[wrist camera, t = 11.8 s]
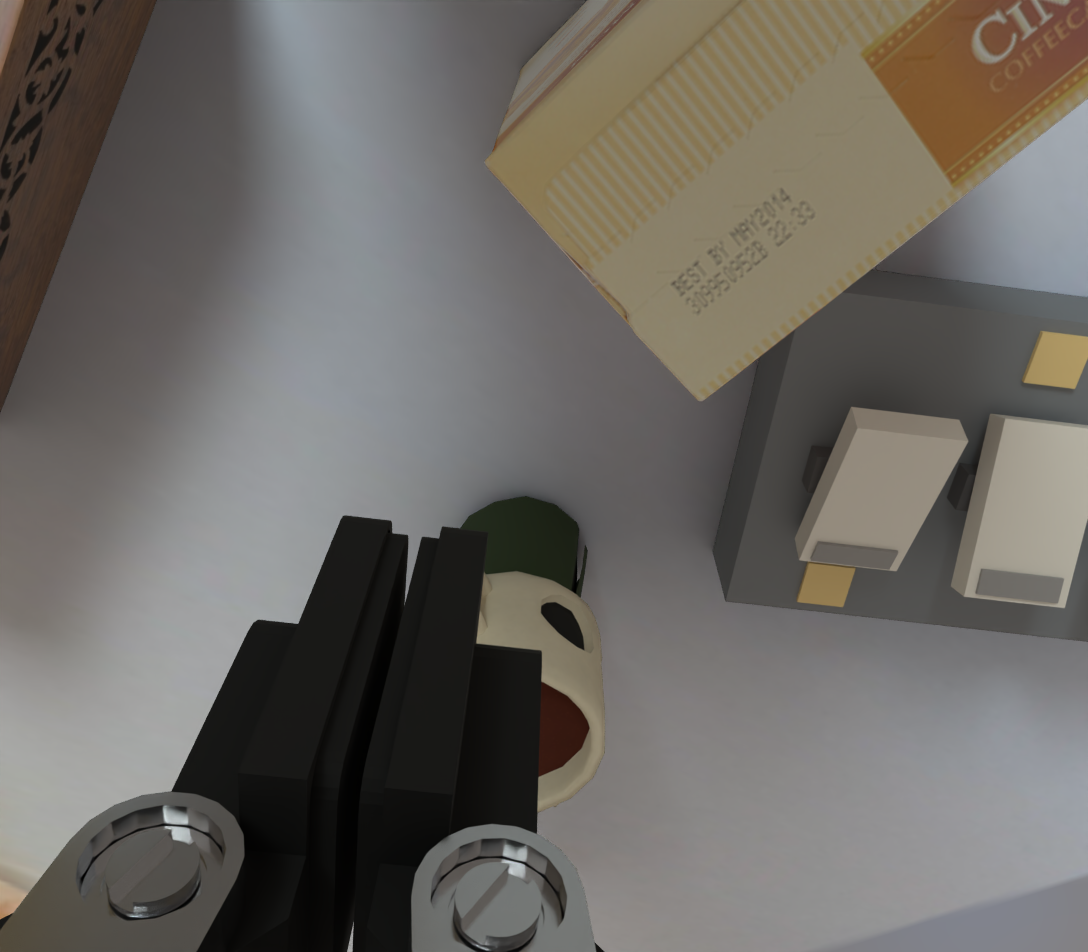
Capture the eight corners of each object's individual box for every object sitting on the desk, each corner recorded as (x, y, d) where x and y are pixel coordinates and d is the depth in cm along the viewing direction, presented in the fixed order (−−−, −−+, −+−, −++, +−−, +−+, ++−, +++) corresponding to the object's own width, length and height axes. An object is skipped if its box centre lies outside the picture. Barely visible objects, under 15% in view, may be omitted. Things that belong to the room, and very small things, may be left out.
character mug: (626, 617, 47) (647, 827, 35) (491, 654, 48) (468, 869, 36) (553, 426, 42) (549, 596, 30) (404, 472, 43) (347, 653, 32)
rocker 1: (851, 406, 34) (858, 430, 33) (959, 419, 35) (969, 444, 34) (794, 538, 39) (799, 562, 38) (889, 549, 39) (897, 573, 38)
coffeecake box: (635, 214, 38) (697, 417, 20) (511, 69, 35) (463, 160, 18) (970, -82, 33) (1427, -145, 15) (853, -274, 30) (1237, -599, 13)
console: (783, 259, 38) (812, 295, 34) (1262, 319, 39) (1351, 363, 35) (712, 551, 45) (729, 614, 40) (1124, 598, 46) (1184, 665, 41)
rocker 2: (990, 413, 36) (1007, 419, 35) (1091, 425, 37) (1112, 431, 35) (950, 586, 38) (966, 598, 37) (1048, 597, 38) (1066, 609, 37)
